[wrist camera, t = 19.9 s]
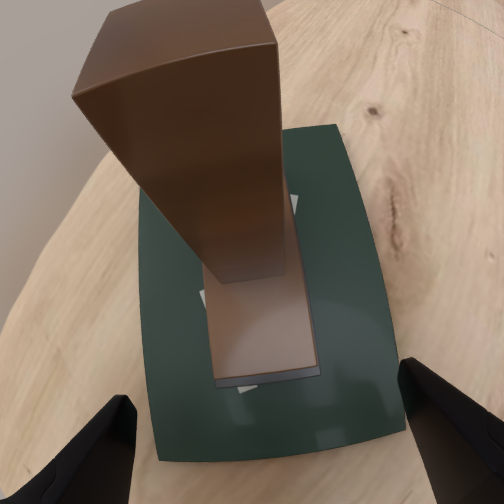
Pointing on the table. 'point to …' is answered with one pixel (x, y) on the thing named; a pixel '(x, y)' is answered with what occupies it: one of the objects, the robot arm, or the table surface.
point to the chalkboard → (324, 316)
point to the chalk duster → (211, 167)
